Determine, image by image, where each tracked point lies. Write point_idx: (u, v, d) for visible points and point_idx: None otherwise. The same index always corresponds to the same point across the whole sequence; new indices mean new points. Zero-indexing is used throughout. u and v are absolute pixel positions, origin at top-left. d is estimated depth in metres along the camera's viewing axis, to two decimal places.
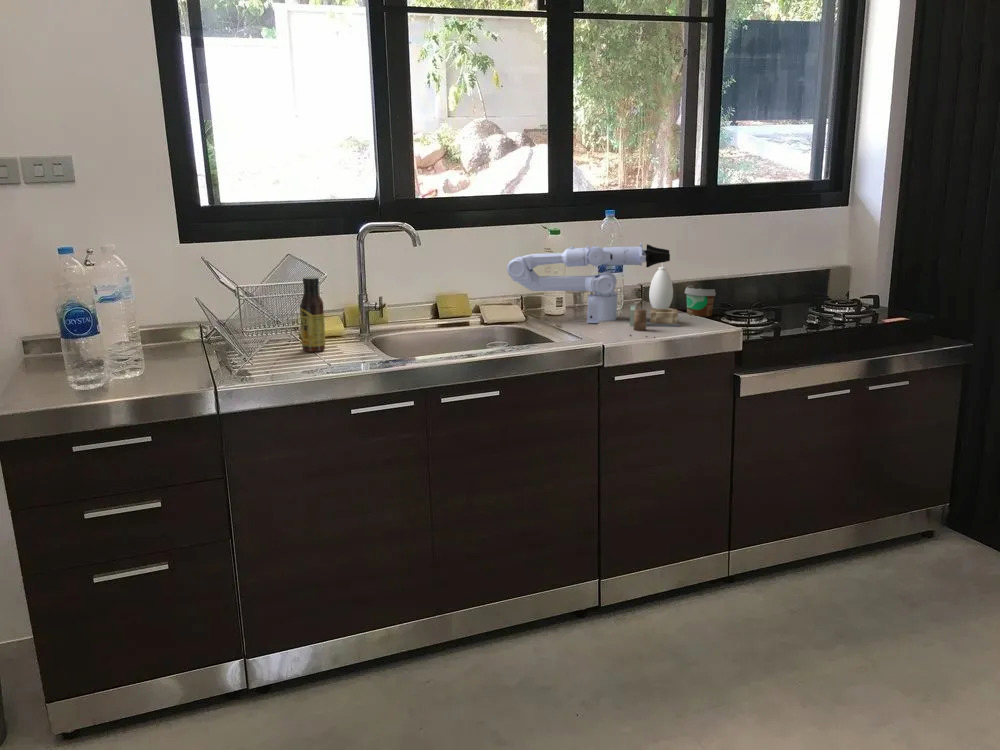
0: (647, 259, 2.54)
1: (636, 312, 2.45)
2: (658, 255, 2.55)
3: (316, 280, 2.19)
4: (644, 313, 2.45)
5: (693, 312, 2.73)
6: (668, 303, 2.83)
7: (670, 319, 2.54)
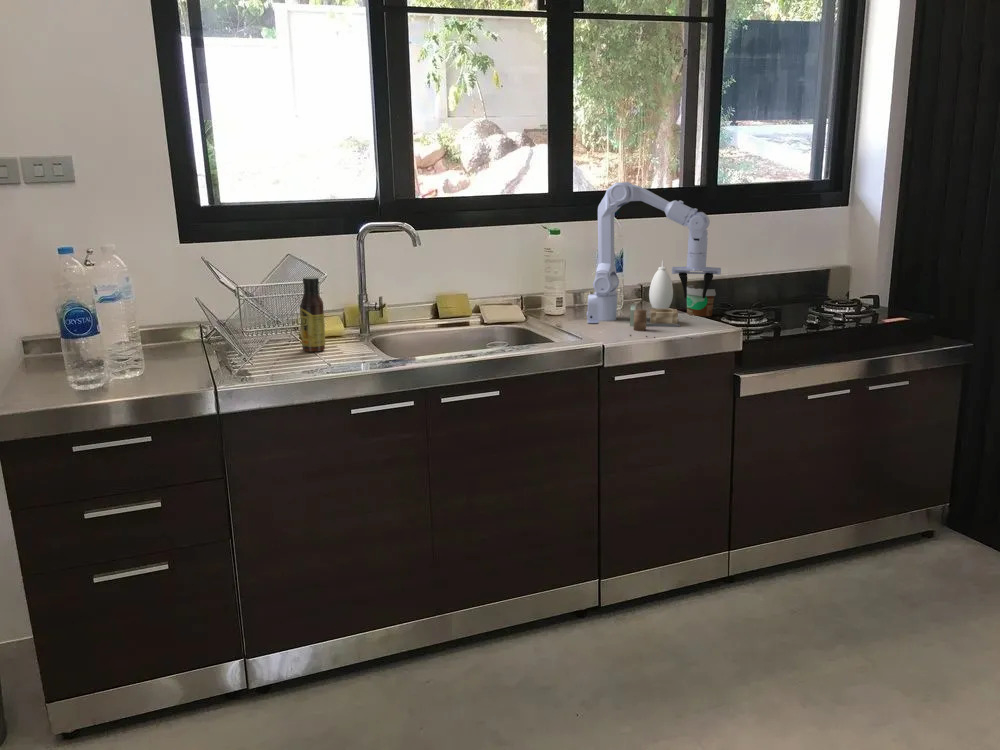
0: None
1: (636, 312, 2.45)
2: None
3: (316, 280, 2.19)
4: (644, 313, 2.45)
5: (693, 312, 2.73)
6: (668, 303, 2.83)
7: (670, 319, 2.54)
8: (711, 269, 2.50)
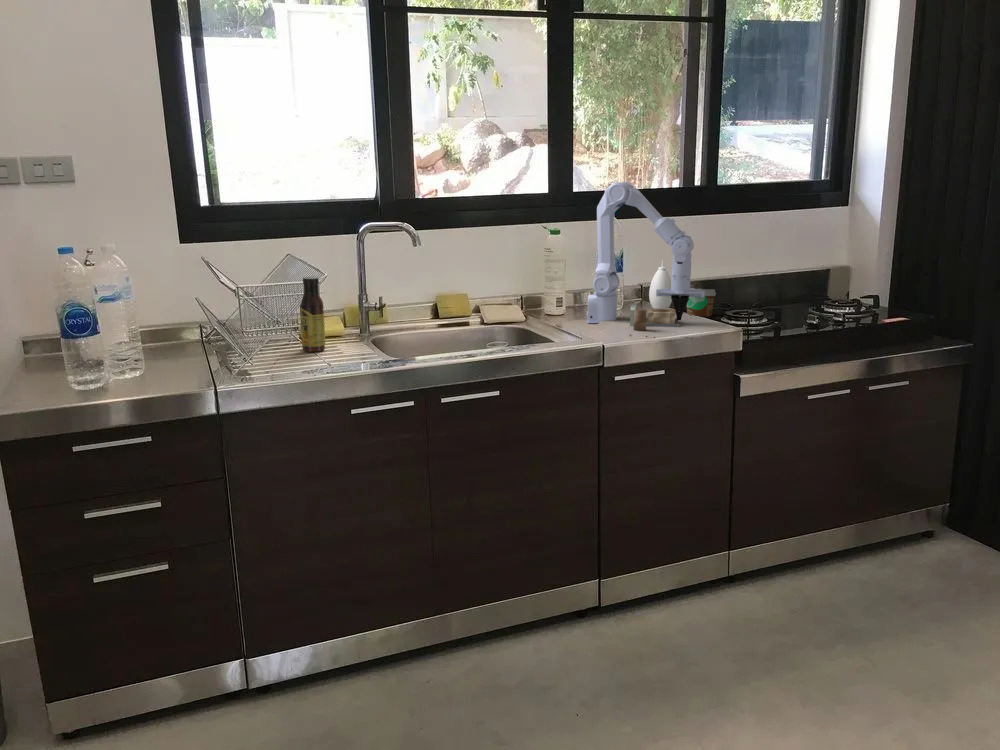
0: None
1: (636, 312, 2.45)
2: None
3: (316, 280, 2.19)
4: (644, 313, 2.45)
5: (693, 312, 2.73)
6: (668, 303, 2.83)
7: (668, 318, 2.54)
8: (695, 292, 2.53)
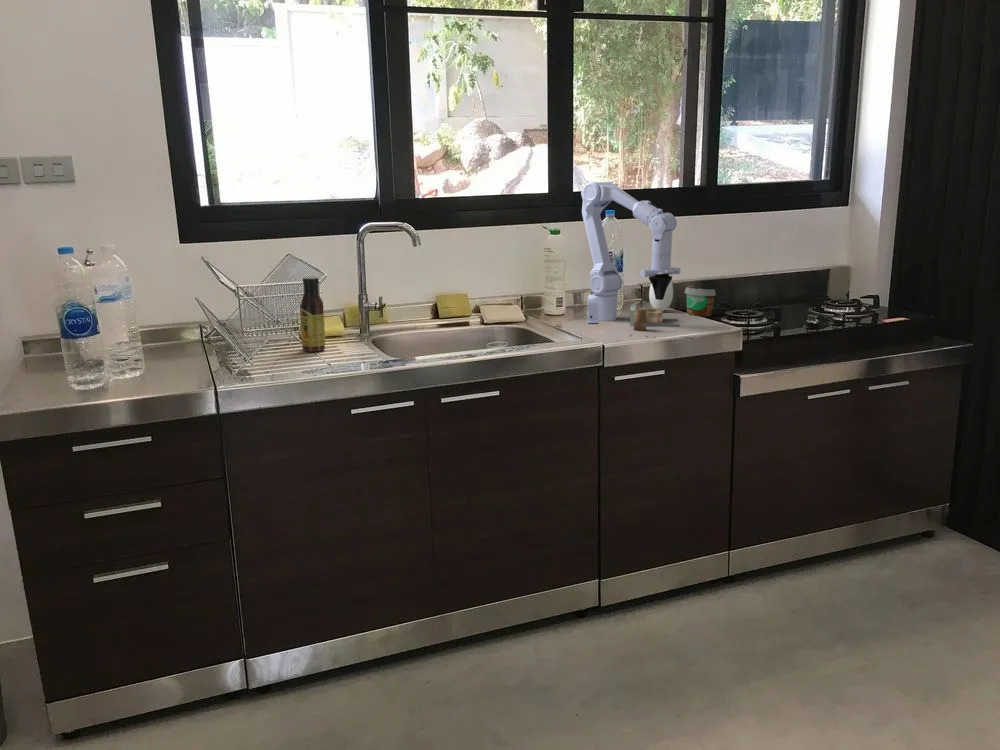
0: (653, 277, 2.49)
1: (636, 312, 2.45)
2: (659, 288, 2.50)
3: (316, 280, 2.19)
4: (644, 313, 2.45)
5: (693, 312, 2.73)
6: (668, 303, 2.83)
7: (655, 318, 2.54)
8: (675, 269, 2.50)
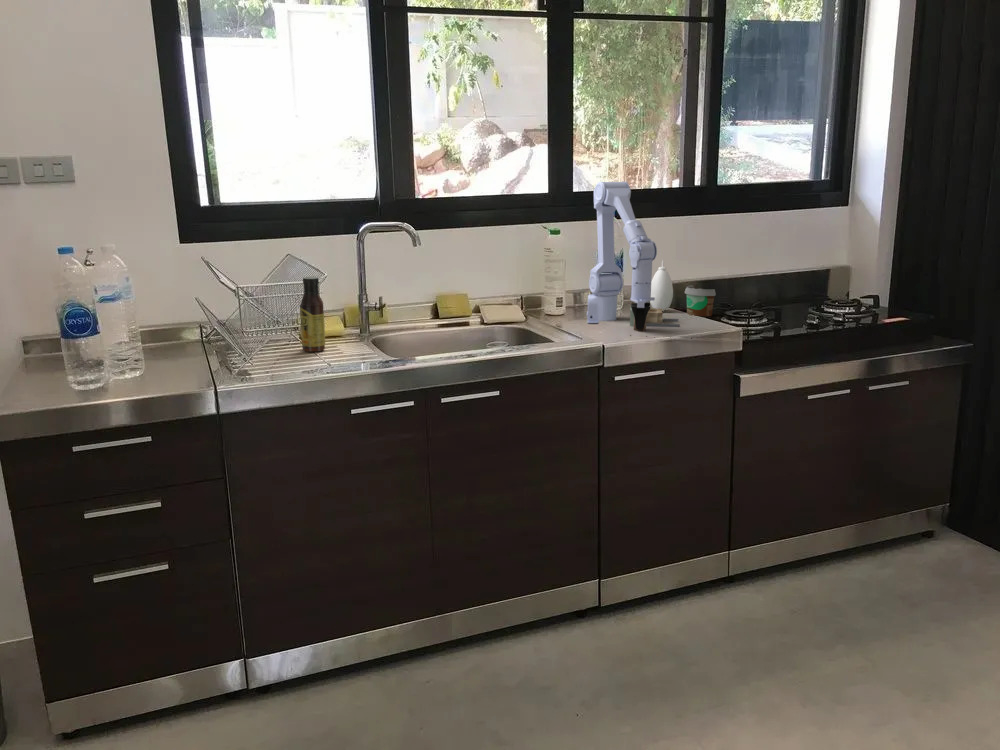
0: (639, 307, 2.42)
1: None
2: (642, 318, 2.44)
3: (316, 280, 2.19)
4: None
5: (693, 312, 2.73)
6: (668, 303, 2.83)
7: (655, 318, 2.54)
8: None
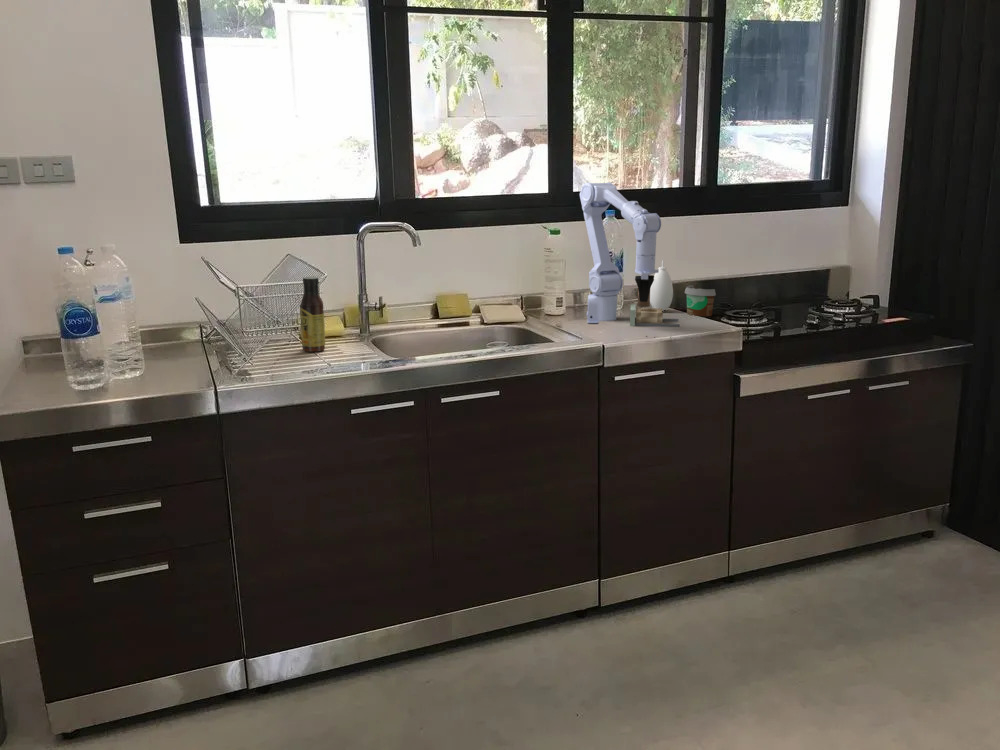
0: (643, 279, 2.44)
1: None
2: (646, 290, 2.46)
3: (316, 280, 2.19)
4: None
5: (693, 312, 2.73)
6: (668, 303, 2.83)
7: (655, 318, 2.54)
8: None
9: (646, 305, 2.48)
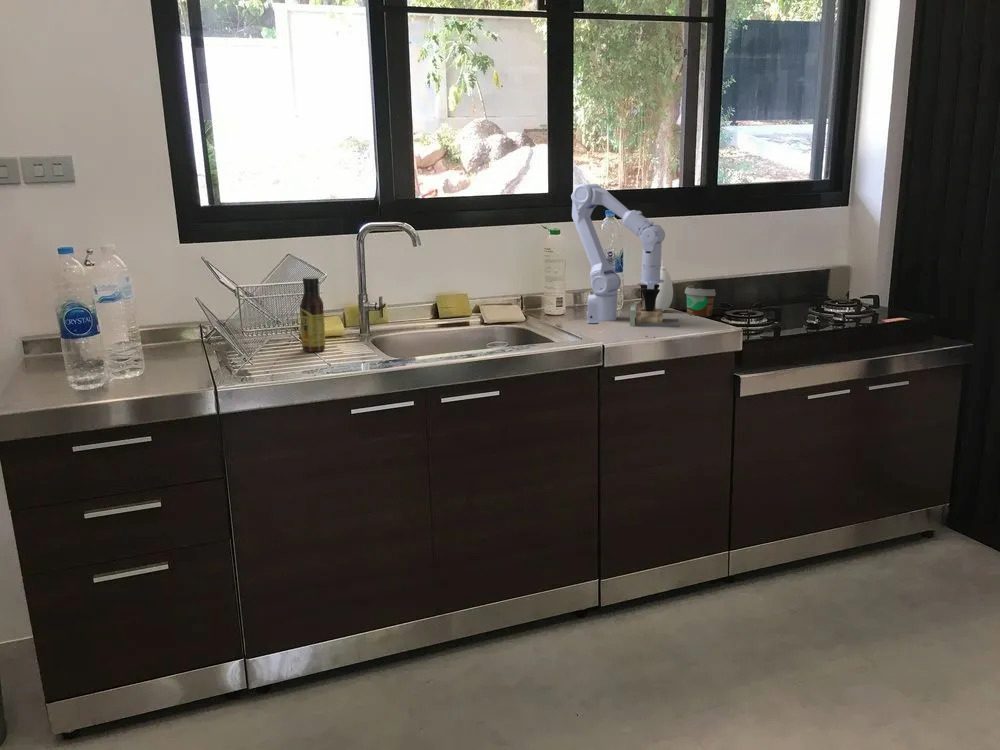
0: (649, 290, 2.50)
1: None
2: (652, 300, 2.53)
3: (316, 280, 2.19)
4: None
5: (693, 312, 2.73)
6: (668, 303, 2.83)
7: (655, 318, 2.54)
8: None
9: None
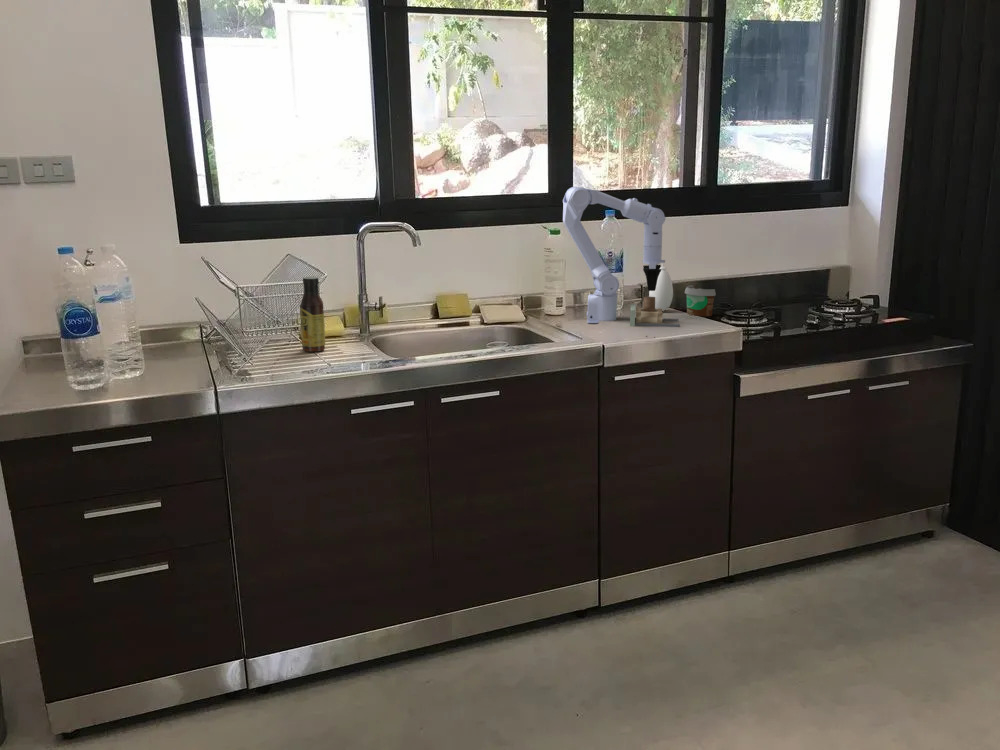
0: (651, 270, 2.59)
1: (646, 299, 2.56)
2: (654, 279, 2.61)
3: (316, 280, 2.19)
4: (653, 300, 2.56)
5: (693, 312, 2.73)
6: (668, 303, 2.83)
7: (655, 318, 2.54)
8: None
9: None
